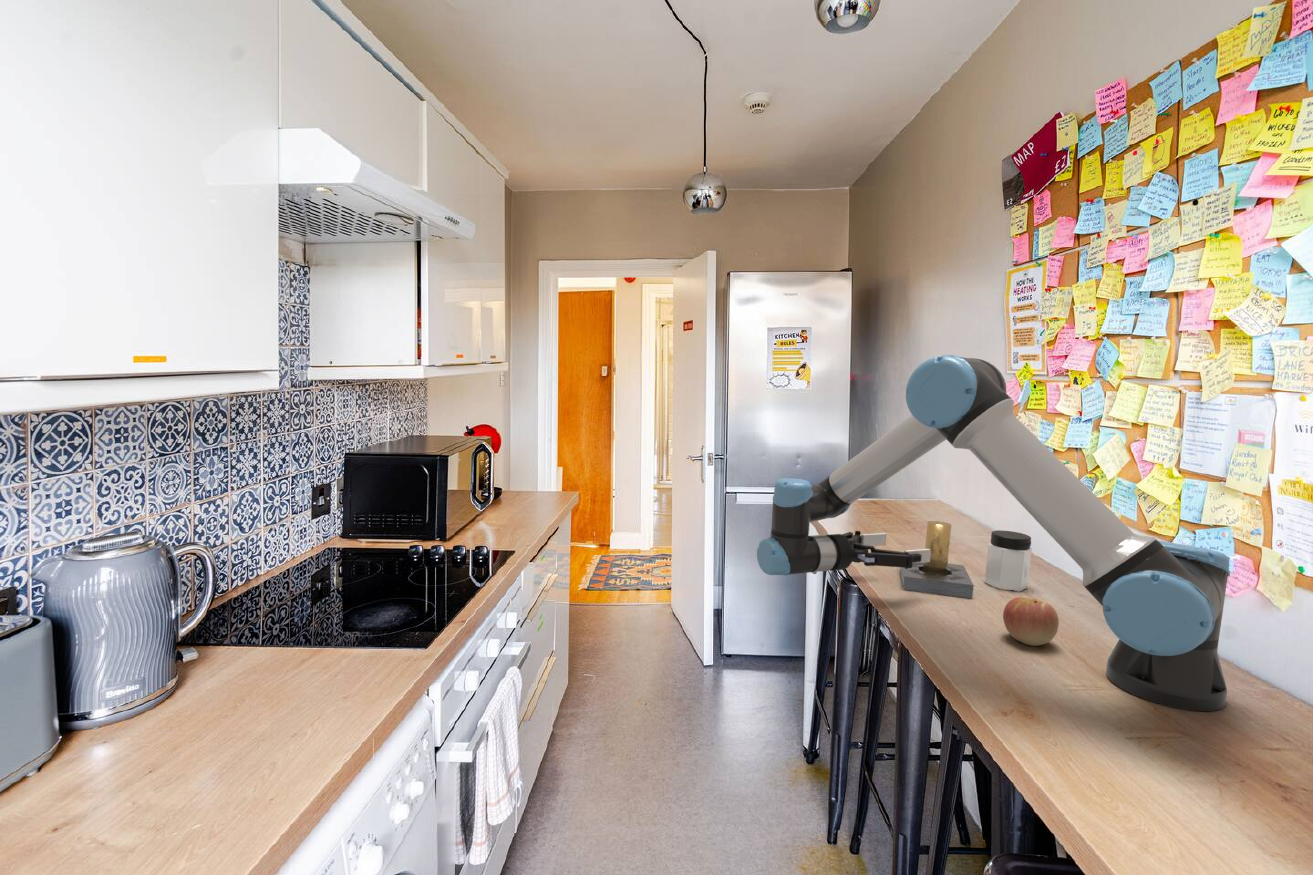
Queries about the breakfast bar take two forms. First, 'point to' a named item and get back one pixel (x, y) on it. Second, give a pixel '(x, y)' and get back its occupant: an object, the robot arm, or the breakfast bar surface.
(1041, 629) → the apple
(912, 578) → the jig
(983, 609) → the breakfast bar surface
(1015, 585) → the jar
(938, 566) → the brass cylinder
